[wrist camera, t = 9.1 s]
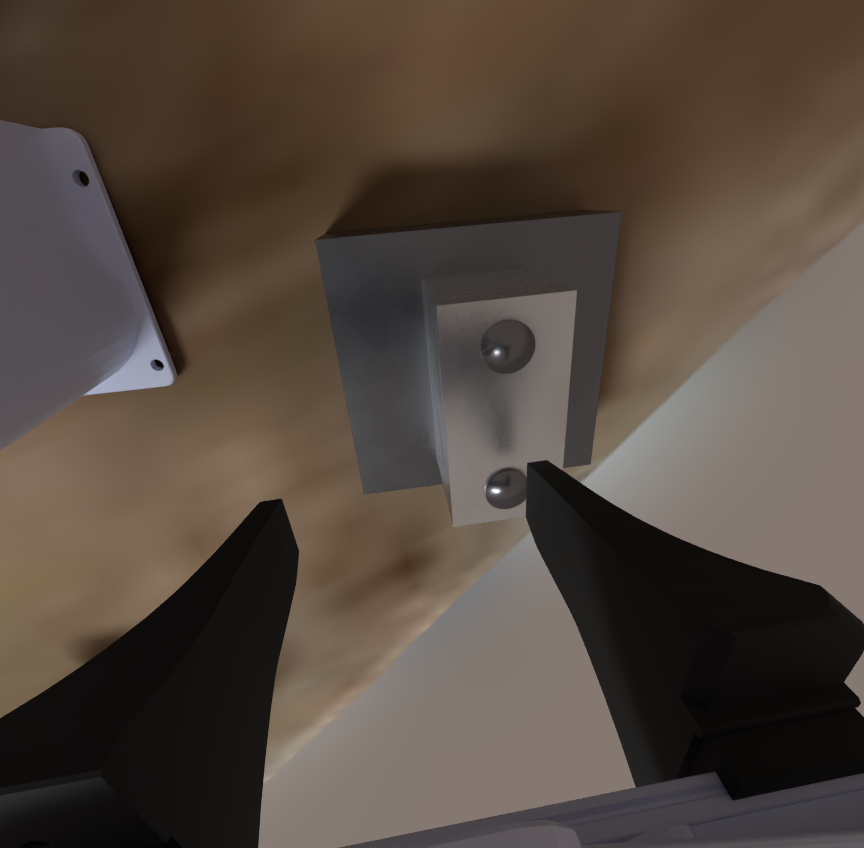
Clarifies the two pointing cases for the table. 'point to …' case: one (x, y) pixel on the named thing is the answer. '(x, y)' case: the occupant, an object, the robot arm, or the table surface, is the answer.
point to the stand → (406, 336)
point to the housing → (497, 384)
